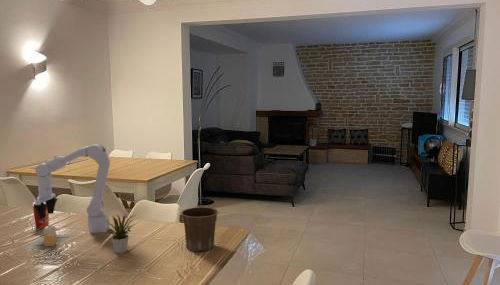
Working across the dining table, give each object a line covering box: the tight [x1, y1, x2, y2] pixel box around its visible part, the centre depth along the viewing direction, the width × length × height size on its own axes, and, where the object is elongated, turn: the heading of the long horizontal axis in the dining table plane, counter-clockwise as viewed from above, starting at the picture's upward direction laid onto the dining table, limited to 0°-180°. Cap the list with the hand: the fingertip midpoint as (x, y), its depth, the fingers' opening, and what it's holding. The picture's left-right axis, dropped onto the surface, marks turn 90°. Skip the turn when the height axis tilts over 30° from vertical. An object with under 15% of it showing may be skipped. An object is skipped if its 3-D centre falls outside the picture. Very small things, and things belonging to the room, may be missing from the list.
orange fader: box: [43, 233, 57, 246], centre depth 170 cm, size 4×3×5 cm
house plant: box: [103, 213, 136, 254], centre depth 167 cm, size 14×14×16 cm
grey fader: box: [43, 225, 57, 236], centre depth 180 cm, size 4×3×5 cm
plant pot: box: [180, 206, 219, 252], centre depth 171 cm, size 16×16×16 cm
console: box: [24, 233, 76, 250], centre depth 175 cm, size 14×18×1 cm
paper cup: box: [32, 201, 50, 229], centre depth 196 cm, size 8×8×14 cm
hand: (46, 215), depth 185 cm, fingers open, 7 cm apart
